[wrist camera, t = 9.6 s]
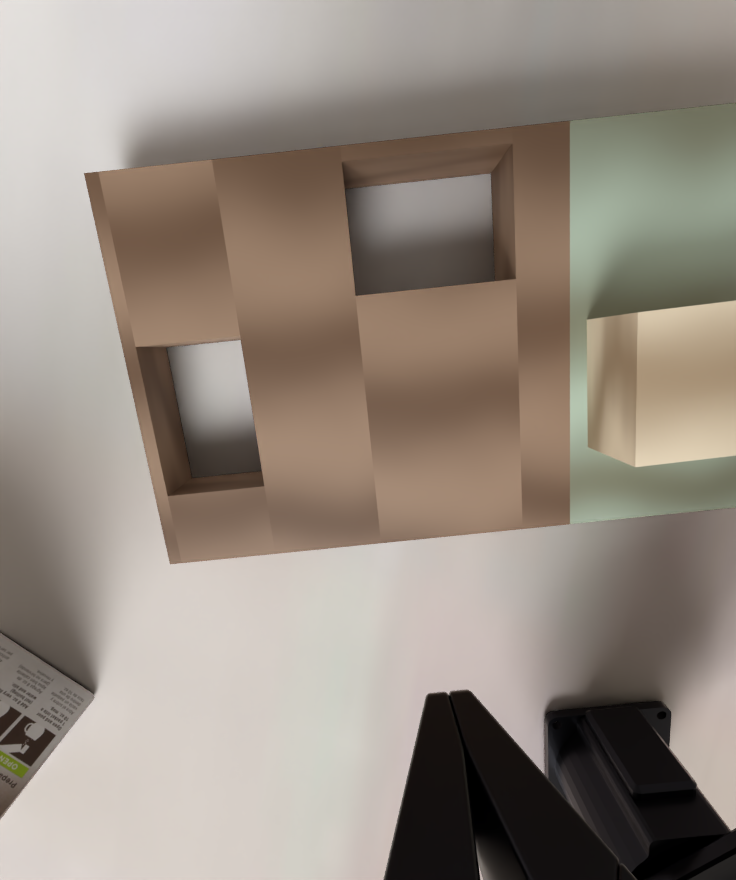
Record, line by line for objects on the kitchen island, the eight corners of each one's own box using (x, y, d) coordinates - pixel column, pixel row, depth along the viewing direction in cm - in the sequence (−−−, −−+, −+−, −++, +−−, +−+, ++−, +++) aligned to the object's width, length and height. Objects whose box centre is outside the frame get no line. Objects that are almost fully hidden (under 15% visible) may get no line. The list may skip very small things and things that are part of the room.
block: (711, 432, 17) (785, 449, 14) (587, 447, 17) (635, 467, 14) (718, 303, 16) (800, 292, 13) (586, 319, 16) (637, 312, 13)
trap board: (711, 486, 20) (760, 505, 17) (193, 538, 20) (170, 564, 18) (737, 132, 17) (801, 95, 14) (124, 198, 17) (84, 173, 15)
